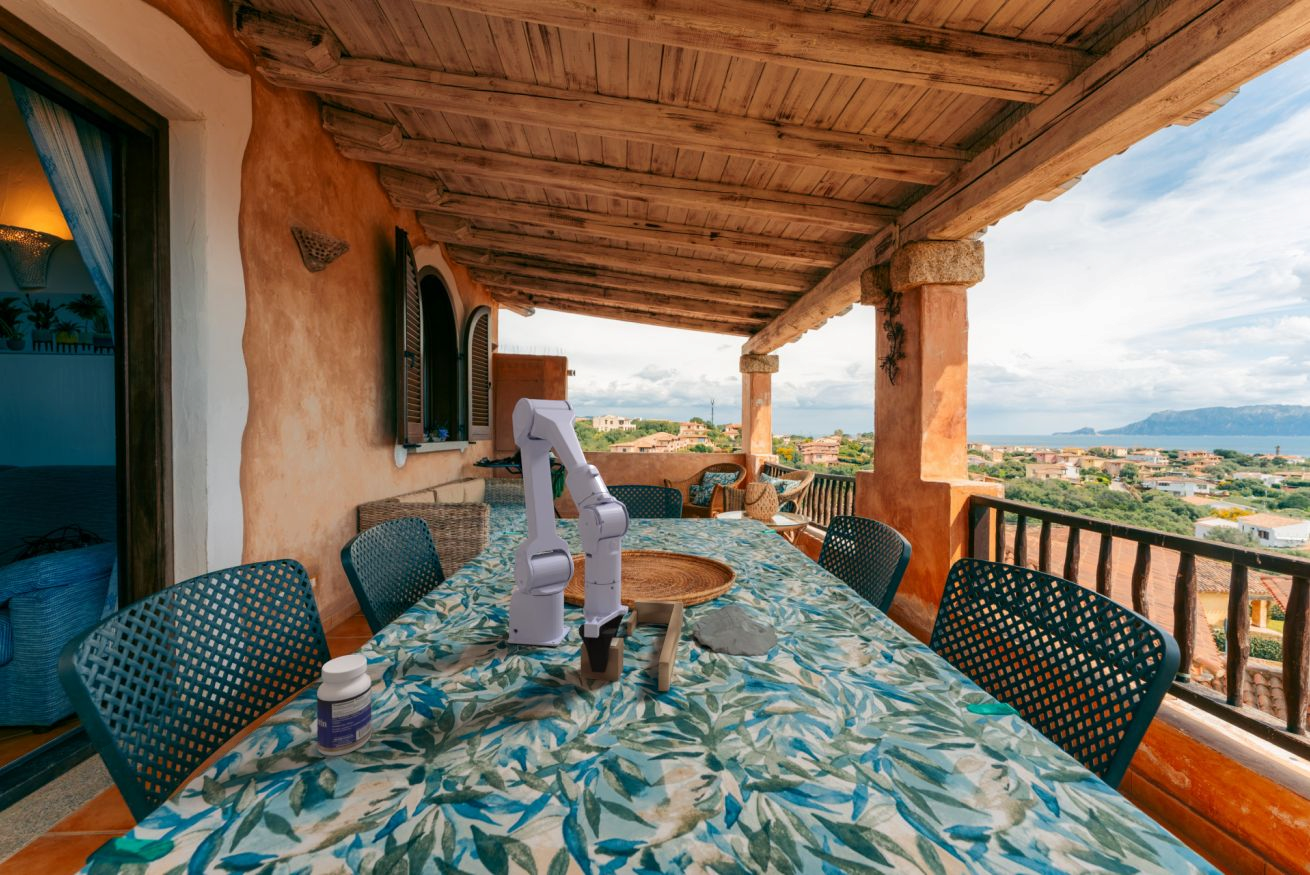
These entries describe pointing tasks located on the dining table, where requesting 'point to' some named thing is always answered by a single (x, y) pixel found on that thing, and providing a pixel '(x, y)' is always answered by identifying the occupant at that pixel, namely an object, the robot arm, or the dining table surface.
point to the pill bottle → (344, 706)
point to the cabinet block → (613, 664)
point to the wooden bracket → (674, 617)
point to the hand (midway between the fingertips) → (602, 664)
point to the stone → (734, 633)
